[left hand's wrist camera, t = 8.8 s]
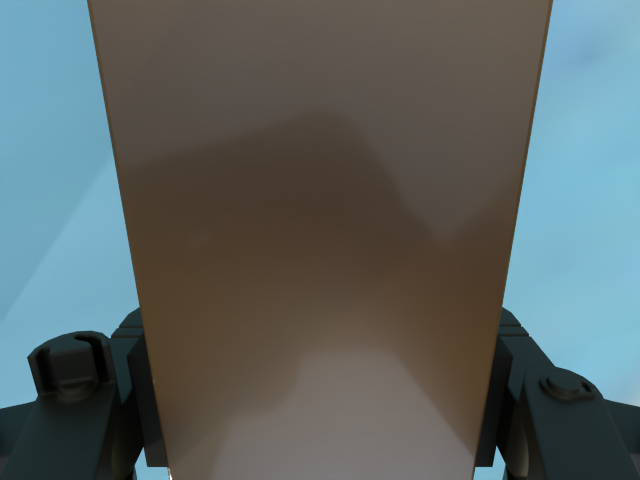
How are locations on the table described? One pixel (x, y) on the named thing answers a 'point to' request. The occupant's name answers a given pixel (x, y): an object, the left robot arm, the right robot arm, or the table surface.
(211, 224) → the bar
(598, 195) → the table surface
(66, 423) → the left robot arm
